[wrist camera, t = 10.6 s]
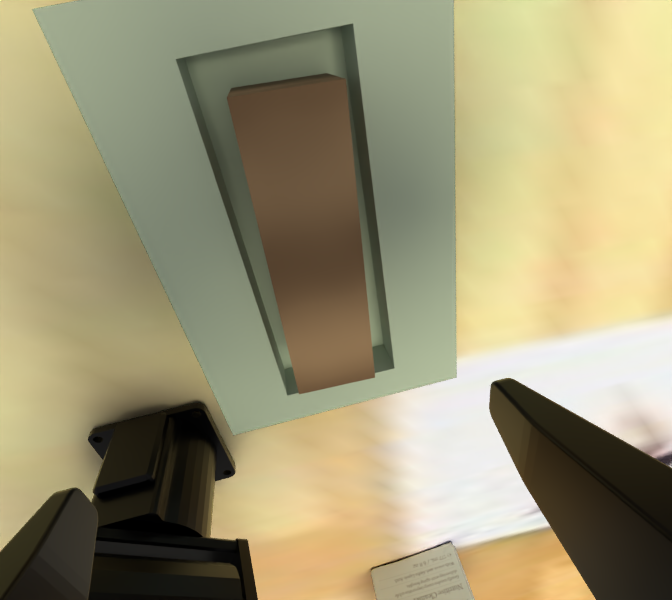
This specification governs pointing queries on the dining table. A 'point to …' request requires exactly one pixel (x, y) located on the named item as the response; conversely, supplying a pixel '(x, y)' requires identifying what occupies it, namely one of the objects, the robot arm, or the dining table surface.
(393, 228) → the sage cradle
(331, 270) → the walnut peg
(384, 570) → the skincare box
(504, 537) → the dining table surface
